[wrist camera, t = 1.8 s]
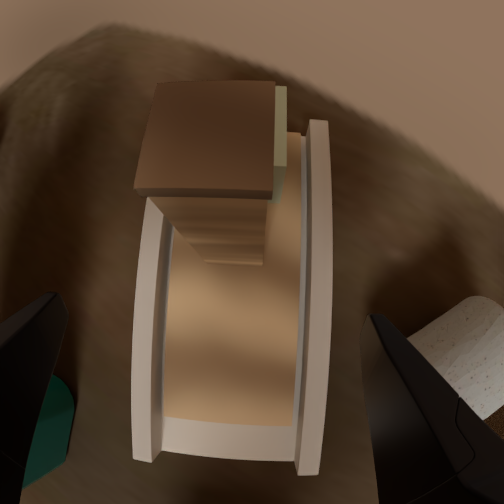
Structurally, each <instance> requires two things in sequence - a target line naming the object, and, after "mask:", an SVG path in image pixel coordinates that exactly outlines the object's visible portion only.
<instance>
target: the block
mask: <svg viewBox="0 0 504 504" xmlns="http://www.w3.org/2000/svg"><path fill="white" fill-rule="evenodd" d="M286 167H287V86H276V87H275V135H274V172H273V195H272V200H268V203H280V200H281V195H282V189H283V184H284V178H285V173H286Z"/></svg>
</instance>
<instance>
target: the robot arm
mask: <svg viewBox="0 0 504 504" xmlns="http://www.w3.org/2000/svg"><path fill="white" fill-rule="evenodd" d="M68 319H69V314H68V310H67V308H66V306H65V303H64V301H63V299H62V296H61V295H60V294H59V293H56V292H47V293H45V294H44V295H42V296H41V297H39V298H37V299H36V300H34V301H33V302H31V303H30V304H28V305H27V306H25V307H24V308H22V309H21V310H19V311H18V312H16V313H15V314H13V315H12V316H11V317H9V318H8V319H6V320H5V321H3V322H2V323H0V504H19V503H20V497H21V491H22V485H23V480H24V475H25V470H26V469H25V468H26V465H27V461H28V456H29V452H30V448H31V444H32V440H33V436H34V432H35V429H36V425H37V421H38V418H39V414H40V411H41V408H42V404H43V401H44V398H45V395H46V392H47V389H48V386H49V383H50V380H51V377H52V374H53V371H54V368H55V365H56V362H57V359H58V355H59V352H60V348H61V344H62V340H63V337H64V333H65V330H66V326H67V323H68ZM360 351H361V364H362V380H363V391H364V397H365V403H366V409H367V415H368V421H369V428H370V434H371V441H372V448H373V455H374V463H375V471H376V479H377V488H378V498H379V504H504V440H503V439H502V438H501V437H500V436H499V435H498V434H496V433H495V432H494V431H493V430H492V429H491V428H490V427H489V426H488V425H487V424H486V423H485V422H484V421H483V420H482V419H481V418H480V417H479V416H478V415H477V414H476V413H475V412H474V411H473V409H472V408H471V407H470V406H469V405H468V404H467V403H466V402H465V401H464V400H463V398H462V397H459V394H458V393H457V392H456V391H455V390H454V389H453V388H452V386H451V385H450V384H449V383H448V382H447V381H446V380H445V379H444V378H443V377H442V375H441V374H440V373H439V372H438V371H437V370H436V369H435V368H434V367H433V366H432V365H431V364H430V363H429V361H428V360H427V359H426V358H425V357H424V356H423V355H422V354H421V353H420V352H419V351H418V350H417V349H416V348H415V347H414V346H413V345H412V344H411V342H410V341H409V340H408V339H407V338H406V337H405V336H404V335H403V334H402V333H401V332H400V331H399V330H398V329H397V328H396V327H395V326H394V325H393V324H392V323H391V322H390V321H389V320H388V319H387V318H386V317H385V316H384V315H383V314H368V315H367V317H366V320H365V323H364V325H363V328H362V331H361V334H360Z"/></svg>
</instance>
